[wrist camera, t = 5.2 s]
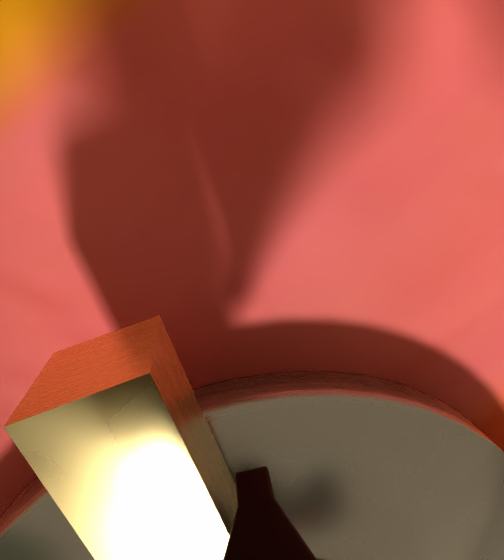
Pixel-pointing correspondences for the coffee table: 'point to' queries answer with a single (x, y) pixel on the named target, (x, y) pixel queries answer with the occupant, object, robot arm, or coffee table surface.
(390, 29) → the coffee table surface
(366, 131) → the coffee table surface
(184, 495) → the brass ring wrench
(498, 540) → the flange
